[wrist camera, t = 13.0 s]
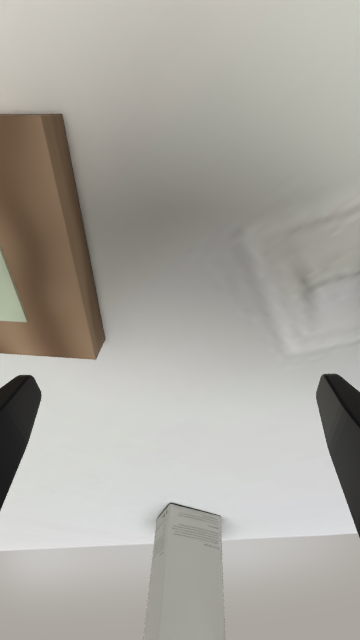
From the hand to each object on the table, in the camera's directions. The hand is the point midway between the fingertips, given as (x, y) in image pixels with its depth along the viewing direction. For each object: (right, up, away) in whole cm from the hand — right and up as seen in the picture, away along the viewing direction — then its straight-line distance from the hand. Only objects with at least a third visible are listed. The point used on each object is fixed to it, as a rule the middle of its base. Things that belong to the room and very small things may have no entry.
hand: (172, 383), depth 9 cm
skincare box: (+2, -27, +36) cm, 45 cm away
